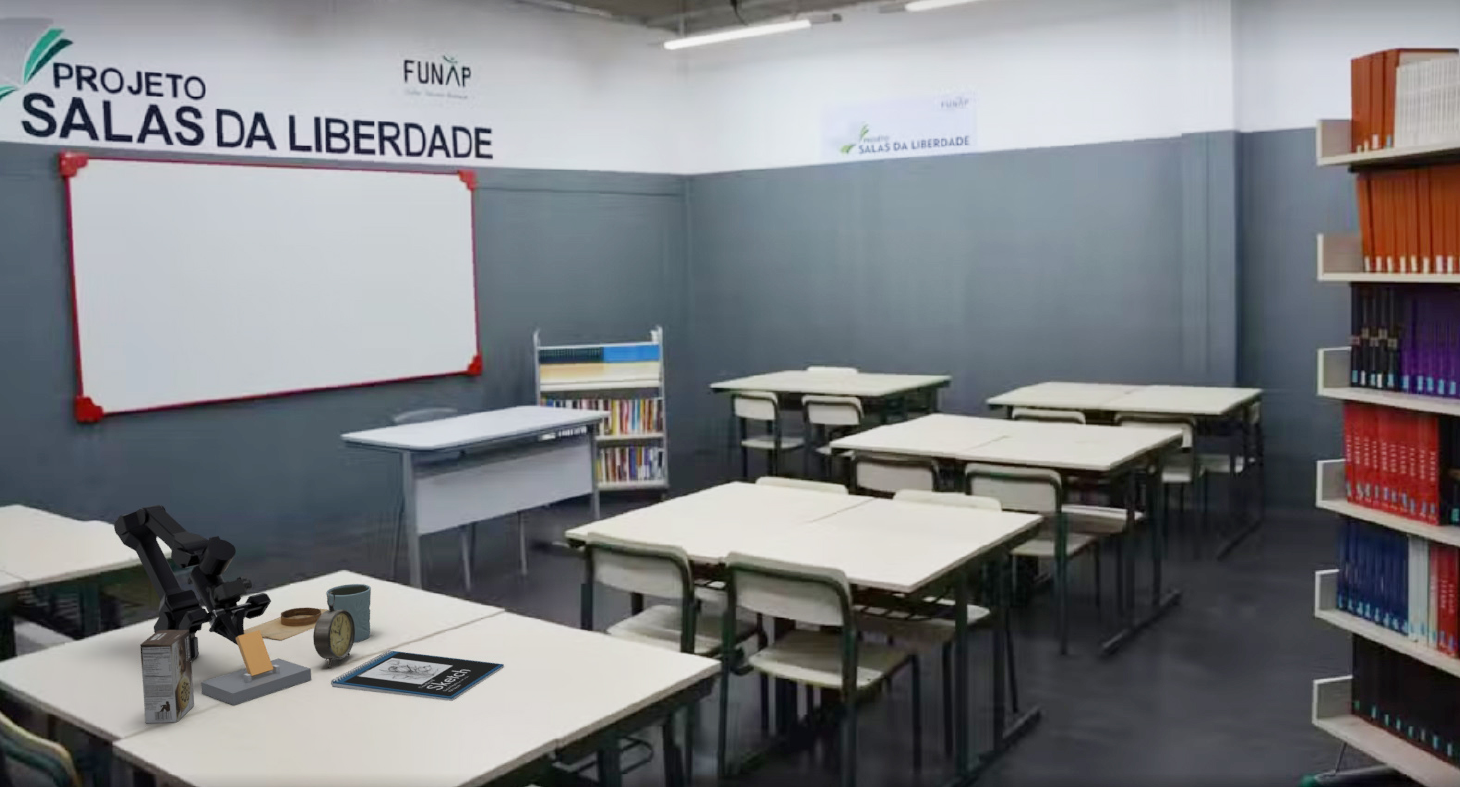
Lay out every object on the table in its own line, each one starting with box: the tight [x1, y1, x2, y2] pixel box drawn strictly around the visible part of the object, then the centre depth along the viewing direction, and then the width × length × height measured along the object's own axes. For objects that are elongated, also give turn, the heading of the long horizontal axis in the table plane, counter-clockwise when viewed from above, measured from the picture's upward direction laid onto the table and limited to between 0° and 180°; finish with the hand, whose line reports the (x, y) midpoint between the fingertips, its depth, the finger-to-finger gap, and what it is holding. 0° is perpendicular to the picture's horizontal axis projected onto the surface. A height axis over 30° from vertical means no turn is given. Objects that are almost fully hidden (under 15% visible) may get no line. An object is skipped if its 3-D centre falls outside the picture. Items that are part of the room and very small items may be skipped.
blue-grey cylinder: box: [325, 583, 372, 643], centre depth 276 cm, size 10×10×12 cm
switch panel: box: [200, 658, 312, 706], centre depth 244 cm, size 12×18×4 cm, turn 144°
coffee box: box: [139, 630, 195, 724], centre depth 228 cm, size 9×6×16 cm
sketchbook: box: [330, 649, 505, 702], centre depth 249 cm, size 22×30×2 cm
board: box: [244, 607, 328, 642], centre depth 289 cm, size 25×15×3 cm, turn 158°
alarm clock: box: [312, 592, 355, 669], centre depth 258 cm, size 11×5×16 cm, turn 168°
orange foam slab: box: [236, 630, 273, 677], centre depth 243 cm, size 1×5×9 cm, turn 143°
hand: (242, 645), depth 246 cm, fingers closed
